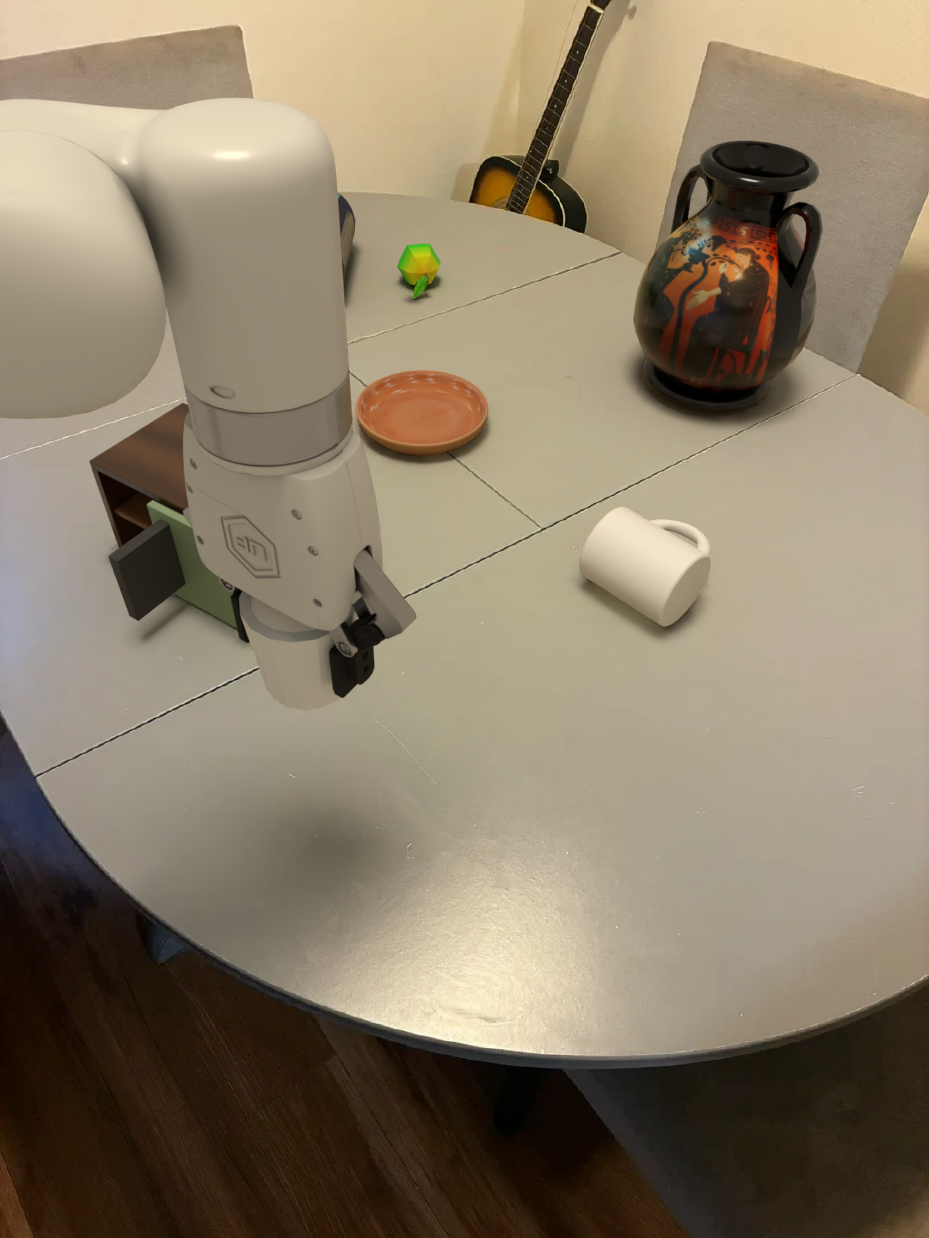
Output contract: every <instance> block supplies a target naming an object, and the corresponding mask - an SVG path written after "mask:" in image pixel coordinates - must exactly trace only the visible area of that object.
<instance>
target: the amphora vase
mask: <svg viewBox="0 0 929 1238" xmlns="http://www.w3.org/2000/svg"><path fill="white" fill-rule="evenodd" d="M819 176H820V169H819V165H818V164H817V162H816V161H815V160H814V159H813V158H812V157H811V156H809V155H808V154H806V153H805V152H803V151H800V150H798V149H796V148H793V147H790V146H787V145H783V144H779V143H774V142H768V141H761V140H730V141H725V142H724V141H723V142H720V143H716V144H714V145H712V146H710V147H708V148H706V149H705V150H704V151H703V152H702V153H701V155H700V156H699V163H698V164H696V165H693V166H692V167H691V168H689V170H688V171H687V173H686V174H685V175H684V176H683V178H682V179H681V183H680V186H679V189H678V192H677V196H676V202H675V207H674V212H673V217H672V223H671V228H670V232H669V233H670V234H669V236H667V238H665V240H664V241H663V242H662V243H660V245H659V247H658V248H657V249H656V250H655V252H654V253H653V254H652V256H651V257H650V260H649V262H648V263H647V265H646V267H645V269H644V271H643V273H642V277H641V279H640V282H639V285H638V288H637V290H636V296H635V303H634V311H633V318H632V321H633V326H634V331H635V335H636V337H637V340H638V342H639V345H640V347H641V349H642V352H643V353H644V355H645V356H646V359H644V361H643V367H642V376H643V379H644V381H645V384H646V385H647V387H648V388H649V389H650V390H651V391H652V393H653V394H654V395H655V396H657V397H658V398H659V399H662V400H663V401H664V402H665V403H668V404H669V405H671V406H674V407H676V408H677V409H682V410H684V411H688V412H692V413H694V414H695V413H696V414H701V415H711V416H719V415H720V416H721V415H722V416H723V415H725V416H727V415H734V414H738V413H739V414H740V413H743V412H746V411H748V410H750V409H753V408H755V407H756V406H758V405H760V404H761V403H762V402H763V401H764V400H765V399H766V398H767V395H768V393H769V391H770V389H771V386H772V385H771V380H773V379H774V378H775V377H776V376H778V375H779V374H781V372H783V371H784V370H786V369H787V368H788V367H789V366H790V365H791V364H793V362H795V360H796V359H797V358H798V356H799V355H800V354H801V353H802V351H803V349H804V346H805V345H806V343H807V340H808V338H809V336H810V332H811V329H812V327H813V324H814V323H815V322H814V321H815V314H816V306H817V281H816V275H815V269H814V265H815V261H816V258H817V255H818V252H819V249H820V245H821V240H822V236H823V230H824V229H823V221H822V214H821V212H820V210H819V209H818V208H817V206H815V204H812V203H810V202H805V201H798V202H794V203H793V204H791V202H792V200H793V197H794V195H795V192H800V191H803V190H806V189H807V188H810V186H812V185H814V184H815V183H816V181H817V180H818V178H819ZM700 178H701V179H702V180H703V181H704V185H705V187H706V191H707V192H706V199H705V200H706V202H705V204H704V205H703V206H702V207H701V208H700V209H699V210H697V212H695V213H694V214H692V215H691V216H690V215H689V214H690V208H691V201H692V195H693V192H694V189H695V187H696V184H697V181H698V180H699V179H700ZM796 215H797V216H799V217H801V218H802V219H803V222H804V223H805V236H804V237H805V238H804V241H803V239H802V237H801V235H800V234H799V232H798V230H797V228H796V227H795V224H794V223H793V219H794V217H795V216H796ZM689 216H690V217H689Z"/></svg>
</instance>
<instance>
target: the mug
mask: <svg viewBox="0 0 929 1238" xmlns="http://www.w3.org/2000/svg"><path fill="white" fill-rule="evenodd" d="M673 533H675V534H678V535H679V536H682V537H683V538H686V539H688V540H690V541H691V542H693V543H694V544H695V545H696V546H694V545H692V544H690V543H689V542H687V541H686V540H684V539H682V538H680V537H678V536H677V535H675V534H673ZM711 550H712V548H711V545H710V541H709V540H708V538H707V536H706V535H705V534H704V533H703V532H702V531H701V530H700V529H698V528H697V527H695V526H693V525H691V524H689V523H686V522H683V521H679V520H673V519H665V518H663V519H662V518H659V519H658V518H657V519H650V520H649V519H647V518H645V517H644V516H642V515H640V514H638V513H637V512H635V511H633V510H632V509H630V508H628V507H625V506H617V507H616V508H613V509H611V510H610V511H609V512H607V513H606V514H605V515H604V516H602V518H601V519H600V520H599V521H598V522H597V523H596V525H595V526H594V528H593V529H592V530H591V531H590V533H589V535H588V536H587V539H586V541H585V543H584V545H583V547H582V550H581V553H580V556H579V561H578V562H579V563H578V567H579V572H580V574H581V575H582V577H584V578H585V579H587V580H589V581H590V582H592V583H594V584H595V585H597V586H598V587H600V588H601V589H603V590H604V591H606V592H607V593H609V594H611V595H612V596H613V597H616V598H617V599H618V600H620V601H622V602H623V603H625V604H626V605H628V606H629V607H631V608H632V609H634V610H636V611H637V612H638V613H640V614H642V615H643V616H645V617H647V618H648V619H649V620H651V621H653V622H654V623H656V624H657V625H659V626H661V627H668V626H671V625H673V624H675V623H676V622H677V621H678V620H680V618H681V617H682V616H684V615H685V613H686V612H687V611H688V610H689V609H690V607H691V606H692V605H693V603H694V602H695V600H696V599H697V597H698V596H699V595H700V593H701V591H702V589H703V587H704V586H705V583H706V581H707V579H708V576H709V573H710V570H711V565H712V564H711V563H712V562H711V556H710V555H711Z"/></svg>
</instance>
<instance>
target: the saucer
mask: <svg viewBox="0 0 929 1238" xmlns="http://www.w3.org/2000/svg"><path fill="white" fill-rule="evenodd" d="M354 409H355V410H354V411H355V415H356V416H355V417H356V419H357V423H358V424H359V426H360V428H361V429H362V431H363V432H364V433H365V434H366V435H367V436H368V437H369V438H371V439H372V440H373V441H375V442H376V443H377V444H379V445H381V446H383V447H386V448H388V449H389V450H392V451H394V452H396V453H401V454H404V455H410V456H419V457H421V456H424V457H425V456H437V455H441V454H445V453H448V452H451V451H453V450H456V449H458V448H460V447H462V446H464V445H465V444H467V443H469V442H470V441H472V440H473V439H474V438H476V436H478V435H479V433H481V431H482V430H483V428H484V427H485V425H486V424H487V423H486V422H487V420H488V416H489V403H488V399H487V397H486V396H485V394H484V393H483V391H482V390H481V389H480V388H479V387H478V386H477V385H476V384H474V383H473V382H471V381H469V380H467V379H466V378H463V377H461V376H458V375H455V374H452V373H449V372H445V371H438V370H430V369H429V370H426V369H420V370H419V369H418V370H416V369H415V370H407V371H401V372H395V373H393V374H389V375H386V376H382V377H381V378H378V379H377V380H375V381H373V382H372V383H370V384H369V385H367V386H366V387H365V388H364V389H363V390H362V391H361V392H360V394H359V395H358V397H357V399H356V402H355V408H354Z"/></svg>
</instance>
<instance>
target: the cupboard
mask: <svg viewBox="0 0 929 1238" xmlns="http://www.w3.org/2000/svg"><path fill="white" fill-rule="evenodd" d="M188 412H189V407H188V403H185V402H181V403H180V404H178V405H177V406H175V407H174V408H172V409H170V410H168V411H167V412H165V413H164V414H162V415H160V416H159V417H157V418H156V419H154V420H152V421H151V422H149V423H147V424H146V425H144V426H143V427H141V428H139V429H138V430H136V431H134V432H133V433H131V434H130V435H127V437H125V438H123V439H122V440H120V441H118V442H117V443H116V444H114V445H112V446H110V447H108V448H107V449H106V450H104V451H103V452H101V453H100V454H98V455H96V456H95V457H92V458H91V459H90V460H89V466H90V467H91V471H92V473H93V477H94V480H95V483H96V486H97V489H98V492H99V494H100V498H101V501H102V504H103V506H104V510H105V512H106V515H107V518H108V521H109V524H110V527H111V530H112V532H113V535H114V539H115V541H116V544H117V547H118V549H119V548H120V547H121V546H123V545H124V544H126V543H127V542H128V541H130V540H131V539H133V538H134V537H135V536H137V535H138V534H140V533H141V532H142V531H144V530H145V529H147V528H148V527H149V526H151V525H152V521H151V518H150V514H149V511H148V508H147V504H148V503H149V502H151V501H152V500H153V501H155V502H157V503H159V504H161V505H163V506H165V507H167V508H169V509H171V510H173V511H175V512H177V513H179V514H181V515H183V510H184V509H186V508H187V507H189V505H188V499H187V492H186V484H185V476H184V461H183V433H184V422H185V418H186V416H187V414H188ZM183 516H184V515H183Z"/></svg>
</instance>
